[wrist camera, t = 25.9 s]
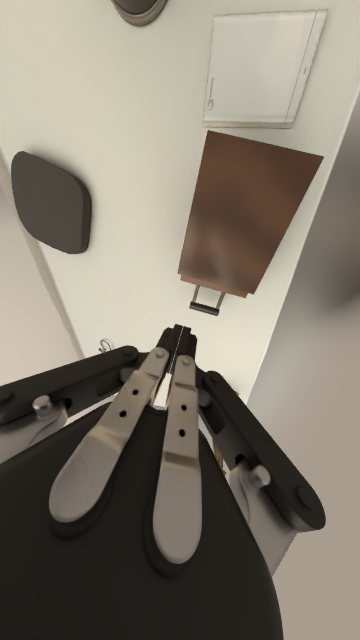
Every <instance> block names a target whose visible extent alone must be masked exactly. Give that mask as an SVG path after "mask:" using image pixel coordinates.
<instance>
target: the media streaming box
mask: <svg viewBox="0 0 360 640" xmlns="http://www.w3.org/2000/svg"><path fill="white" fill-rule="evenodd" d="M11 178H12V189H13V195H14V200H15V205H16V209H17V212H18V215H19V218H20V220H21V222H22V224H23V225H24V227H25V228H26V230H27V231H28V232H29V233H30V234H31V235H32V236H33V237H34V238H36V239H38V240H39V241H41V242H43V243H45V244H47V245H49V246H51V247H53V248H55V249H57V250H60V251H62V252H65V253H68V254H79V253H83V252H84V251H85V250H86V249H87V246H88V238H89V227H90V207H91V203H90V197H89V194H88V192H87V190H86V188H85V186H84V185H83V183H82V182H81V181H80V180H79V179H78V178H76V177H74V176H73V175H71V174H69V173H67V172H66V171H64V170H62V169H60V168H58V167H56V166H54V165H52V164H50V163H48V162H46V161H44V160H42V159H40V158H38V157H36V156H34V155H31V154H29V153H27V152H24V151H21V152H18V153H17V154H16V155H15V156H14V158H13V160H12V164H11Z"/></svg>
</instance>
